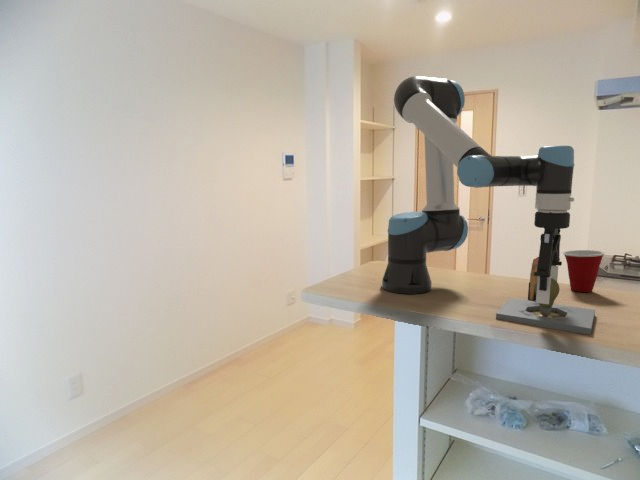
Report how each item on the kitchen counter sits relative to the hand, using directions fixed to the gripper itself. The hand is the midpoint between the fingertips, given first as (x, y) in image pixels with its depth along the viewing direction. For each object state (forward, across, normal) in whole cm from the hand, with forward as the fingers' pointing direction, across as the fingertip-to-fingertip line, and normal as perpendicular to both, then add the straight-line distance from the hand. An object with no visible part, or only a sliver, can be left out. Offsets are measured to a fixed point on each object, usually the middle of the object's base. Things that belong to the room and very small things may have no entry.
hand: (546, 296), depth 108 cm
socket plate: (+5, 0, 0) cm, 5 cm away
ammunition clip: (+6, +19, +5) cm, 20 cm away
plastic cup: (+6, +34, -5) cm, 35 cm away
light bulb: (+5, 0, 0) cm, 5 cm away
